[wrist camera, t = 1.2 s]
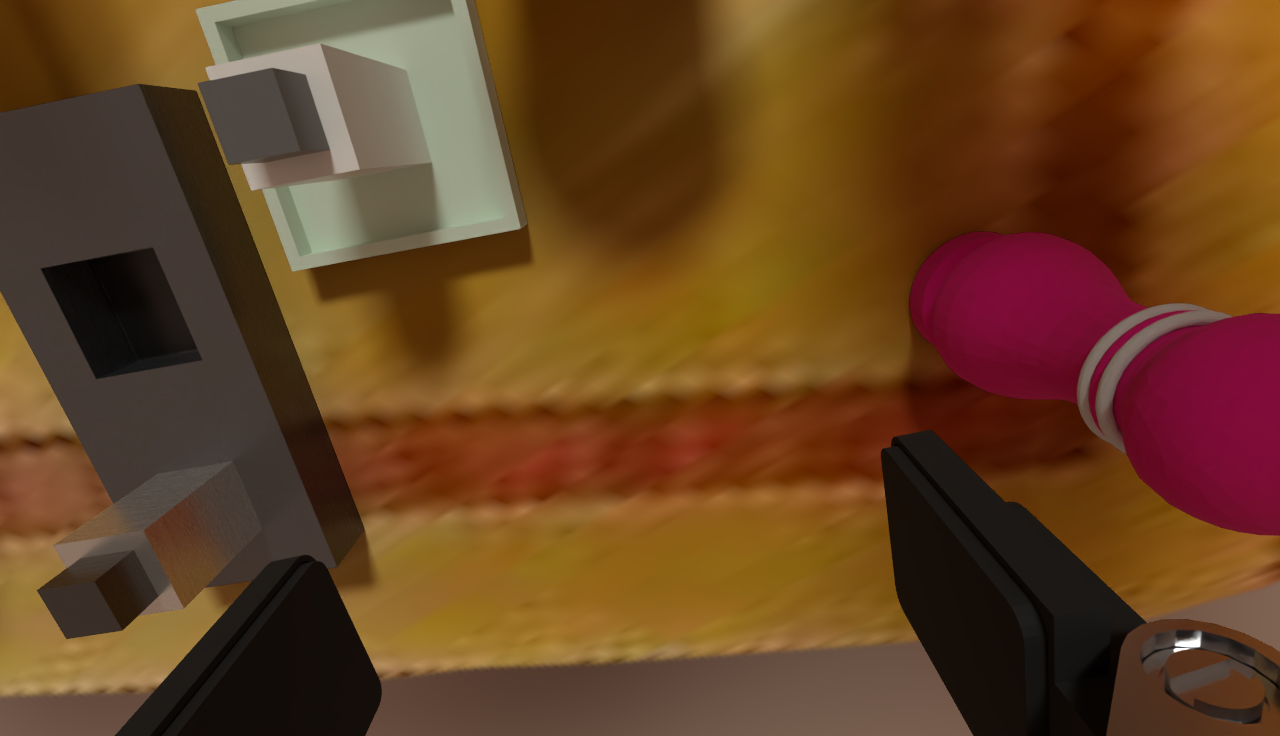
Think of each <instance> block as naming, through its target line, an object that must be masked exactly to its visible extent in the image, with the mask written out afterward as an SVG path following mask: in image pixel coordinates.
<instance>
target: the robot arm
mask: <svg viewBox="0 0 1280 736" xmlns="http://www.w3.org/2000/svg"><path fill="white" fill-rule="evenodd" d="M881 461H882V470H883V479H884V488H885V497H886V506H887V515H888V524H889V533H890V542H891V550H892V559H893V568H894V577H895V586H896V591H897V595H898V599H899V602H900V604H901V607H902V609H903V611H904V613H905V615H906V617H907V619H908V620H909V622H910V624H911V626H912V627H913V629H914V631H915V633H916V635H917V636H918V638H919V640H920V642H921V643H922V645H923V647H924V649H925V650H926V652H927V654H928V656H929V658H930V659H931V661H932V663H933V665H934V666H935V668H936V670H937V672H938V674H939V675H940V677H941V679H942V681H943V682H944V684H945V686H946V688H947V690H948V691H949V693H950V695H951V697H952V698H953V700H954V702H955V704H956V706H957V707H958V709H959V711H960V713H961V714H962V716H963V718H964V720H965V721H966V723H967V725H968V727H969V729H970V730H971V732H972V734H973V736H1280V652H1279V651H1277V650H1276V649H1274V648H1273V647H1272V646H1269V645H1267V644H1265V643H1263V642H1261V641H1259V640H1257V639H1255V638H1253V637H1251V636H1249V635H1247V634H1245V633H1242V632H1239V631H1236V630H1232V629H1229V628H1226V627H1223V626H1220V625H1217V624H1213V623H1207V622H1200V621H1193V620H1188V619H1165V620H1158V621H1154V622H1150V623H1146V622H1145V621H1144V620H1143V619H1142V618H1141V617H1140V616H1139V615H1138V614H1137V613H1136V612H1135V611H1134V610H1133V609H1132V608H1131V607H1130V606H1128V605H1127V604H1126V603H1125V602H1124V601H1123V600H1122V599H1121V598H1120V597H1119V596H1118V595H1117V594H1116V593H1115V592H1114V591H1113V590H1112V589H1110V588H1109V587H1108V586H1107V585H1106V584H1105V583H1104V582H1103V581H1102V580H1101V579H1100V578H1099V577H1098V576H1097V575H1096V574H1095V573H1094V572H1092V571H1091V570H1090V569H1089V568H1088V567H1087V566H1086V565H1085V564H1084V563H1083V562H1082V561H1081V560H1080V559H1079V558H1078V557H1077V556H1076V555H1074V554H1073V553H1072V552H1071V551H1070V550H1069V549H1068V548H1067V547H1066V546H1065V545H1064V544H1063V543H1062V542H1061V541H1060V540H1059V539H1058V538H1056V537H1055V536H1054V535H1053V534H1052V533H1051V532H1050V531H1049V530H1048V529H1047V528H1046V527H1045V526H1044V525H1043V524H1042V523H1041V522H1040V521H1038V520H1037V519H1036V518H1035V517H1034V516H1033V515H1032V514H1031V513H1030V512H1029V511H1028V510H1027V509H1026V508H1024V507H1023V506H1022V505H1020V504H1019V503H1016V502H1005V501H1004V500H1003V499H1002V498H1001V497H1000V496H998V495H997V494H996V493H995V492H994V491H993V490H992V489H991V488H990V487H989V486H988V485H987V484H986V483H985V482H984V481H983V480H982V479H981V478H980V477H979V476H978V475H977V474H976V473H975V472H974V471H973V470H972V469H971V468H970V467H969V466H968V465H967V464H966V463H965V462H964V461H963V460H962V459H961V458H960V457H959V456H958V455H957V454H956V453H955V452H954V451H953V450H952V449H951V448H950V447H948V446H947V445H946V444H945V443H944V442H943V441H942V440H941V439H940V438H939V437H938V436H937V435H936V434H935V433H934V432H933V431H931V430H927V431H922V432H917V433H912V434H907V435H902V436H897V437H893V439H892V442H891V447H889V448H884V449H882V451H881ZM381 691H382V689H381V683H380V680H379V677H378V675H377V673H376V671H375V669H374V667H373V665H372V663H371V660H370V658H369V656H368V654H367V652H366V650H365V648H364V646H363V643H362V641H361V639H360V637H359V635H358V633H357V631H356V629H355V627H354V624H353V622H352V620H351V618H350V616H349V614H348V612H347V610H346V607H345V605H344V603H343V601H342V599H341V597H340V595H339V593H338V590H337V588H336V586H335V584H334V582H333V580H332V578H331V576H330V573H329V571H328V569H327V567H326V566H325V564H323V563H322V562H320V561H316V560H315V559H314V558H313V557H312V556H310V555H301V556H296V557H291V558H286V559H281V560H276V561H272V562H270V563H269V564H268V565H267V566H266V567H265V568H264V569H263V570H262V571H261V572H260V573H259V574H258V576H257V577H256V578H255V579H254V580H253V581H252V582H251V583H250V585H249V586H248V587H247V588H246V589H245V590H244V591H243V592H242V594H241V595H240V596H239V597H238V598H237V599H236V600H235V601H234V603H233V604H232V605H231V606H230V607H229V608H228V609H227V610H226V611H225V613H224V614H223V615H222V616H221V617H220V618H219V619H218V620H217V622H216V623H215V624H214V625H213V626H212V627H211V628H210V629H209V631H208V632H207V633H206V634H205V635H204V636H203V637H202V638H201V640H200V641H199V642H198V643H197V644H196V645H195V646H194V647H193V649H192V650H191V651H190V652H189V653H188V654H187V655H186V656H185V657H184V659H183V660H182V661H181V662H180V663H179V664H178V665H177V666H176V668H175V669H174V670H173V671H172V672H171V673H170V674H169V675H168V677H167V678H166V679H165V680H164V681H163V682H162V683H161V684H160V686H159V687H158V688H157V689H156V690H155V691H154V692H153V693H152V695H151V696H150V697H149V698H148V699H147V700H146V701H145V702H144V704H143V705H142V706H141V707H140V708H139V709H138V710H137V711H136V712H135V714H134V715H133V716H132V717H131V718H130V719H129V720H128V722H127V723H126V724H125V725H124V726H123V727H122V728H121V729H120V731H119V732H118V733H117V734H116V735H115V736H365V735H366V733H367V730H368V728H369V726H370V724H371V722H372V720H373V718H374V715H375V713H376V711H377V709H378V707H379V704H380V701H381V695H382V692H381Z"/></svg>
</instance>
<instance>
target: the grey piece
mask: <svg viewBox="0 0 1280 736" xmlns="http://www.w3.org/2000/svg"><path fill="white" fill-rule="evenodd" d="M0 291H1V293H2V295H3V297H4V299H5V301H6V303H7V304H8V306H9V308H10V310H11V312H12V314H13V316H14V318H15V320H16V321H17V323H18V325H19V327H20V329H21V331H22V333H23V335H24V336H25V338H26V340H27V342H28V344H29V346H30V348H31V350H32V351H33V353H34V355H35V357H36V359H37V361H38V363H39V365H40V366H41V368H42V370H43V372H44V374H45V376H46V378H47V380H48V381H49V383H50V385H51V387H52V389H53V391H54V393H55V395H56V396H57V398H58V400H59V402H60V404H61V406H62V408H63V410H64V412H65V413H66V415H67V417H68V419H69V421H70V423H71V425H72V427H73V428H74V430H75V432H76V434H77V436H78V438H79V440H80V442H81V443H82V445H83V447H84V449H85V451H86V453H87V455H88V457H89V458H90V460H91V462H92V464H93V466H94V468H95V470H96V472H97V473H98V475H99V477H100V479H101V481H102V483H103V485H104V487H105V488H106V490H107V492H108V494H109V496H110V498H111V500H112V502H113V503H114V504H113V505H111V506H110V507H109V508H107V509H106V510H104V511H103V512H101V513H100V514H98V515H97V516H95V517H94V518H92V519H91V520H90V521H88V522H87V523H85V524H84V525H82V526H81V527H79V528H78V529H76V530H75V531H73V532H72V533H70V534H69V535H68V536H66V537H65V538H63V539H62V540H60V541H59V542H57V543H56V544H54V545H53V546H54V548H55V549H56V551H57V553H58V555H59V556H60V558H61V560H62V561H63V563H64V565H65V566H66V568H67V569H65V570H64V571H63V572H61V573H60V574H58V575H57V576H56V577H54V578H53V579H52V580H50V581H49V582H48V583H46V584H45V585H44V586H42V587H41V588H40V589H38V590H37V591H38V593H39V595H40V596H41V598H42V600H43V601H44V603H45V605H46V606H47V608H48V609H49V611H50V613H51V614H52V616H53V618H54V619H55V621H56V623H57V624H58V626H59V627H60V629H61V631H62V632H63V634H64V636H65V637H66V639H70V638H76V637H83V636H89V635H96V634H103V633H109V632H116V631H122V630H123V629H125V628H126V627H127V626H128V625H129V624H130V623H131V622H132V621H133V620H134V619H135V618H136V617H137V616H140V615H146V614H153V613H159V612H166V611H172V610H179V609H184V608H185V607H186V606H187V605H188V604H189V603H190V602H191V601H192V600H193V599H194V598H195V597H196V596H197V595H198V594H199V593H200V592H201V591H202V590H203V589H204V588H207V587H213V586H220V585H226V584H232V583H239V582H245V581H252V580H254V579H255V578H256V577H257V576H258V574H259V573H260V572H261V571H262V570H263V569H264V568H265V567H266V566H267V565H268V564H269V563H270V562H272V561H276V560H281V559H286V558H291V557H296V556H301V555H310V556H312V557H313V558H314V559H315V560H316V561H320V562H322V563H323V564H325V566H326V567H327V569H329V568H336V567H338V565H339V564H340V563H341V561H342V560H343V559H344V557H345V556H346V554H347V553H348V552H349V550H350V549H351V547H352V546H353V545H354V543H355V542H356V540H357V539H358V538H359V536H360V535H361V533H362V532H363V531H364V527H363V524H362V522H361V519H360V517H359V514H358V511H357V509H356V506H355V504H354V501H353V498H352V496H351V493H350V491H349V488H348V485H347V483H346V480H345V478H344V475H343V472H342V470H341V467H340V465H339V462H338V459H337V457H336V454H335V452H334V449H333V446H332V444H331V441H330V439H329V436H328V433H327V431H326V428H325V426H324V423H323V420H322V418H321V415H320V413H319V410H318V407H317V405H316V402H315V400H314V397H313V394H312V392H311V389H310V387H309V384H308V381H307V379H306V376H305V374H304V371H303V368H302V366H301V363H300V361H299V358H298V355H297V353H296V350H295V348H294V345H293V342H292V340H291V337H290V335H289V332H288V329H287V327H286V324H285V322H284V319H283V316H282V314H281V311H280V309H279V306H278V303H277V301H276V298H275V296H274V293H273V290H272V288H271V285H270V283H269V280H268V277H267V275H266V272H265V270H264V267H263V264H262V262H261V259H260V257H259V254H258V251H257V249H256V246H255V244H254V241H253V238H252V236H251V233H250V231H249V228H248V225H247V223H246V220H245V218H244V215H243V212H242V210H241V207H240V205H239V202H238V199H237V197H236V194H235V192H234V189H233V186H232V184H231V181H230V179H229V176H228V173H227V171H226V168H225V166H224V163H223V160H222V158H221V155H220V153H219V150H218V147H217V145H216V142H215V140H214V137H213V134H212V132H211V129H210V127H209V124H208V121H207V119H206V116H205V114H204V111H203V108H202V106H201V103H200V101H199V98H198V95H197V93H196V91H194V90H186V89H177V88H169V87H160V86H152V85H143V84H136V85H131V86H126V87H121V88H117V89H112V90H107V91H102V92H97V93H93V94H88V95H83V96H78V97H74V98H69V99H64V100H59V101H54V102H50V103H45V104H40V105H35V106H31V107H26V108H21V109H16V110H12V111H7V112H2V113H0Z"/></svg>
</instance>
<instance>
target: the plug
mask: <svg viewBox="0 0 1280 736" xmlns="http://www.w3.org/2000/svg"><path fill="white" fill-rule="evenodd" d="M205 69H206V71H207V74H208V77H209V79H210V81H206V82H201V83H198V86H199V88H200V91H201V94H202V96H203V99H204V101H205V104H206V107H207V109H208V112H209V115H210V117H211V120H212V122H213V125H214V128H215V130H216V133H217V135H218V138H219V141H220V143H221V146H222V149H223V151H224V154H225V156H226V159H227V162H228V164H229V165H232V164H242V167H243V170H244V172H245V175H246V178H247V180H248V183H249V186H250V188H251V191H252V190H260V189H268V188H277V187H285V186H293V185H301V184H309V183H318V182H326V181H334V180H342V179H350V178H356V177H361V176H366V175H371V174H376V173H381V172H386V171H391V170H397V169H402V168H407V167H412V166H417V165H422V164H427V163H432V161H431V157H430V153H429V150H428V146H427V143H426V139H425V135H424V132H423V128H422V125H421V121H420V117H419V114H418V110H417V107H416V103H415V99H414V96H413V92H412V89H411V85H410V82H409V78H408V74H407V71H406V70H405V69H402V68H398V67H395V66H392V65H389V64H386V63H382V62H379V61H376V60H373V59H369V58H366V57H363V56H360V55H357V54H353V53H350V52H347V51H344V50H340V49H337V48H334V47H331V46H328V45H324V44H321V43H319V44H314V45H309V46H304V47H300V48H295V49H290V50H285V51H280V52H276V53H271V54H266V55H261V56H257V57H252V58H247V59H242V60H238V61H233V62H228V63H223V64H219V65H214V66H209V67H205Z"/></svg>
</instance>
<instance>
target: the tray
mask: <svg viewBox="0 0 1280 736" xmlns="http://www.w3.org/2000/svg"><path fill="white" fill-rule="evenodd" d="M195 10H196V13H197V15H198V18H199V21H200V24H201V26H202V29H203V32H204V34H205V37H206V40H207V42H208V45H209V48H210V51H211V53H212V56H213V59H214V61H215V64H216V65H219V64H223V63H228V62H233V61H238V60H242V59H247V58H252V57H257V56H261V55H266V54H271V53H276V52H280V51H285V50H290V49H295V48H300V47H304V46H309V45H314V44H319V43H321V44H324V45H328V46H331V47H334V48H337V49H340V50H344V51H347V52H350V53H353V54H357V55H360V56H363V57H366V58H369V59H373V60H376V61H379V62H382V63H386V64H389V65H392V66H395V67H398V68H402V69H405V70H406V71H407V74H408V78H409V82H410V85H411V89H412V92H413V96H414V99H415V103H416V107H417V110H418V114H419V117H420V121H421V125H422V128H423V132H424V135H425V139H426V143H427V146H428V150H429V153H430V157H431V161H432V163H427V164H422V165H417V166H412V167H407V168H402V169H397V170H391V171H386V172H381V173H376V174H371V175H366V176H361V177H356V178H350V179H342V180H334V181H326V182H318V183H309V184H301V185H293V186H285V187H277V188H268V189H262V191H263V194H264V196H265V199H266V202H267V205H268V207H269V210H270V213H271V215H272V218H273V221H274V224H275V226H276V229H277V232H278V234H279V237H280V240H281V242H282V245H283V248H284V251H285V253H286V256H287V259H288V261H289V264H290V267H291V269H292V271H298V270H303V269H308V268H314V267H319V266H324V265H330V264H335V263H340V262H346V261H351V260H357V259H362V258H367V257H373V256H378V255H383V254H389V253H394V252H399V251H405V250H410V249H416V248H421V247H426V246H432V245H437V244H442V243H448V242H453V241H458V240H464V239H469V238H475V237H480V236H485V235H491V234H496V233H501V232H507V231H512V230H517V229H521V228H523V227H524V226H526V225H527V220H526V216H525V212H524V208H523V203H522V199H521V195H520V191H519V187H518V182H517V178H516V174H515V170H514V165H513V161H512V157H511V153H510V149H509V144H508V140H507V136H506V132H505V128H504V123H503V119H502V115H501V111H500V107H499V102H498V98H497V94H496V90H495V85H494V81H493V77H492V73H491V69H490V64H489V60H488V56H487V52H486V48H485V43H484V39H483V35H482V31H481V26H480V22H479V18H478V14H477V10H476V5H475V1H474V0H236V1H231V2H226V3H222V4H217V5H213V6H208V7H203V8H199V9H195Z"/></svg>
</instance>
